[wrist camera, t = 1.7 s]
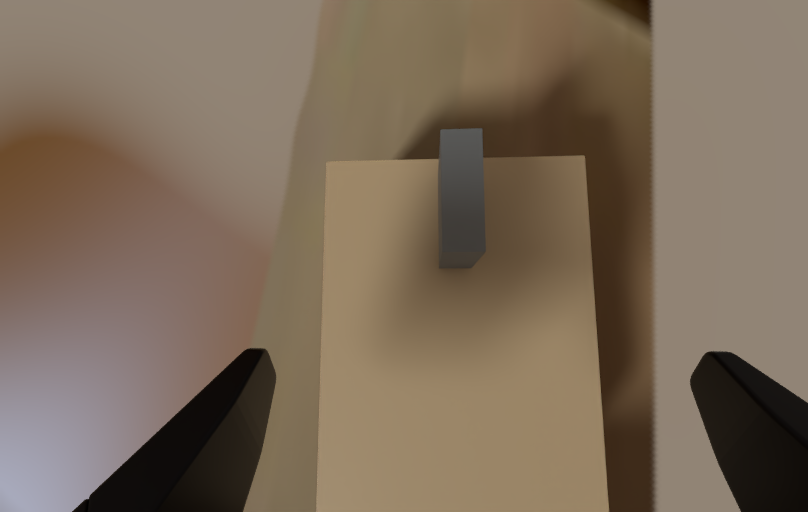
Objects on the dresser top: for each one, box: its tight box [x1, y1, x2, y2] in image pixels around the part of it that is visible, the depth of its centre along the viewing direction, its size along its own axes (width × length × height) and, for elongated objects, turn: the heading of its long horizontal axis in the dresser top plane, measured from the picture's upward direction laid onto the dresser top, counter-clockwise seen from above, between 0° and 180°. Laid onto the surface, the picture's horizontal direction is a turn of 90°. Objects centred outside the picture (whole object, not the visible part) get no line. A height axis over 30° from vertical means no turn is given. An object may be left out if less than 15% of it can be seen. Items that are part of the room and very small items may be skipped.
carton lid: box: [316, 128, 609, 512], centre depth 13 cm, size 14×10×5 cm
